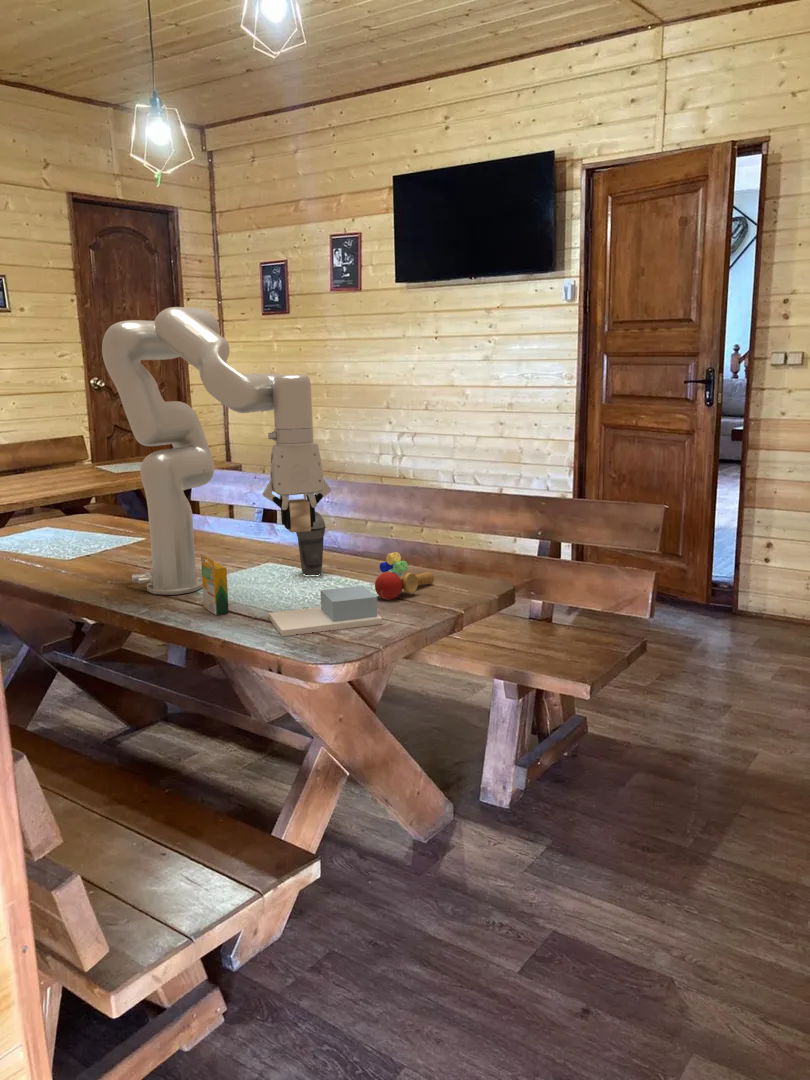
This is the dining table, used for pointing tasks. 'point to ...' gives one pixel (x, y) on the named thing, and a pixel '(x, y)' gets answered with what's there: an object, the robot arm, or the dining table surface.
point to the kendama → (400, 583)
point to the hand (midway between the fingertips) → (298, 526)
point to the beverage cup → (312, 546)
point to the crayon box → (214, 586)
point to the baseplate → (314, 621)
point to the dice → (398, 564)
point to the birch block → (299, 515)
